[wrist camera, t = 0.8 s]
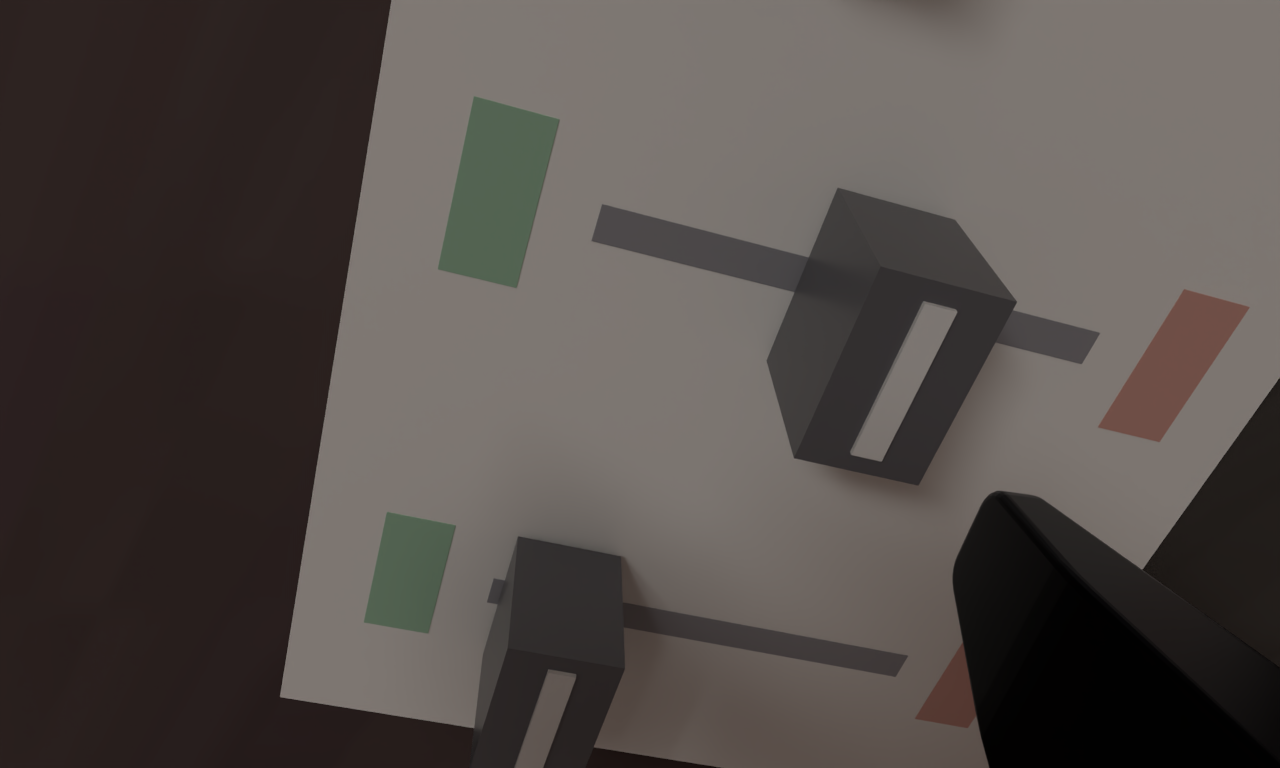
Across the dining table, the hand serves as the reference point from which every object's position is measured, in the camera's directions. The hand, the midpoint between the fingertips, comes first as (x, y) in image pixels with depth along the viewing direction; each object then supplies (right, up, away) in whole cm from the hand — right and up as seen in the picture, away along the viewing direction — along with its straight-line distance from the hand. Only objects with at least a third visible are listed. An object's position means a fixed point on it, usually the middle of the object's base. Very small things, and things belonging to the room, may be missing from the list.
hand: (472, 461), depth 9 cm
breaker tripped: (+6, +2, +12) cm, 14 cm away
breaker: (-1, -5, +17) cm, 17 cm away
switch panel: (+6, +3, +14) cm, 16 cm away
